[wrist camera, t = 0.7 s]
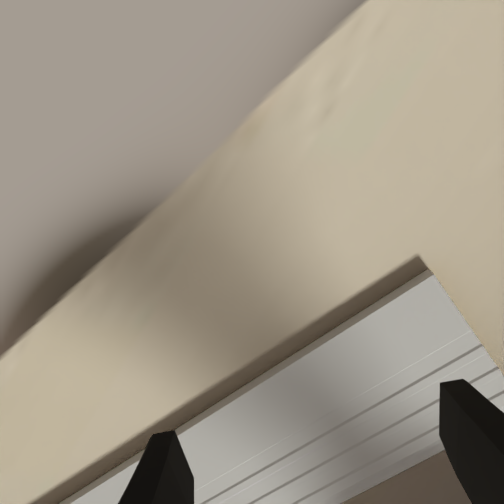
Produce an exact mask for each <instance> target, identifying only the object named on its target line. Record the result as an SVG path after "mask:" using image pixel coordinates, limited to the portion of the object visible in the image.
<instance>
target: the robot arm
mask: <svg viewBox="0 0 504 504" xmlns="http://www.w3.org/2000/svg"><path fill="white" fill-rule="evenodd" d="M439 436H440V439H441V441H442V444H443V446H444V448H445V451H446V453H447V455H448V458H449V460H450V462H451V464H452V467H453V469H454V471H455V473H456V475H457V477H458V479H459V481H460V483H461V484H462V486H463V488H464V490H465V492H466V493H467V495H468V497H469V499H470V501H471V502H472V504H504V413H503V412H502V411H501V410H500V409H499V408H497V407H496V406H495V405H494V404H493V403H492V402H490V401H489V400H488V399H487V398H486V397H485V396H483V395H482V394H481V393H480V392H479V391H478V390H476V389H475V388H474V387H473V386H472V385H471V384H470V383H468V382H467V381H466V380H464V379H458V380H452V381H447V382H441V383H440V401H439ZM118 504H194V477H193V474H192V472H191V469H190V467H189V464H188V462H187V459H186V457H185V454H184V452H183V449H182V447H181V444H180V442H179V439H178V437H177V434H176V432H175V430H174V431H168V432H163V433H157V434H153V435H152V436H151V438H150V440H149V442H148V444H147V446H146V448H145V450H144V453H143V455H142V457H141V459H140V461H139V463H138V465H137V467H136V469H135V471H134V473H133V475H132V477H131V479H130V481H129V483H128V485H127V487H126V489H125V491H124V493H123V495H122V497H121V499H120V501H119V502H118Z"/></svg>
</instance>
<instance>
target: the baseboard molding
mask: <svg viewBox="0 0 504 504" xmlns="http://www.w3.org/2000/svg"><path fill="white" fill-rule="evenodd" d="M458 379H464V380H466V381H467V382H468V383H470V384H471V385H472V386H473V387H474V388H475V389H476V390H478V391H479V392H480V393H481V394H482V395H483V396H485V397H486V398H487V399H488V400H489V401H490V402H492V403H493V404H494V405H495V406H496V407H497V408H499V409H500V410H501V411H502V412H503V413H504V376H503V374H502V372H501V371H500V370H499V368H498V367H497V366H496V364H495V363H494V361H493V360H492V358H491V357H490V355H489V354H488V352H487V351H486V349H485V348H484V346H483V345H482V344H481V342H480V341H479V339H478V338H477V336H476V335H475V334H474V332H473V331H472V329H471V327H470V326H469V325H468V323H467V322H466V320H465V319H464V317H463V316H462V314H461V313H460V312H459V310H458V309H457V307H456V306H455V304H454V303H453V301H452V300H451V298H450V297H449V296H448V294H447V293H446V291H445V290H444V288H443V287H442V285H441V284H440V282H439V281H438V280H437V278H436V277H435V275H434V274H433V273H432V272H431V271H430V270H429V269H427V270H425V271H424V272H422V273H421V274H419V275H417V276H416V277H414V278H413V279H411V280H410V281H408V282H406V283H405V284H403V285H402V286H400V287H399V288H397V289H395V290H394V291H392V292H391V293H389V294H388V295H386V296H384V297H383V298H381V299H380V300H378V301H377V302H375V303H373V304H372V305H370V306H369V307H367V308H366V309H364V310H362V311H361V312H359V313H358V314H356V315H355V316H353V317H351V318H350V319H348V320H347V321H345V322H344V323H342V324H340V325H339V326H337V327H336V328H334V329H332V330H331V331H329V332H328V333H326V334H325V335H323V336H321V337H320V338H318V339H317V340H315V341H314V342H312V343H310V344H309V345H307V346H306V347H304V348H303V349H301V350H299V351H298V352H296V353H295V354H293V355H292V356H290V357H288V358H287V359H285V360H284V361H282V362H281V363H279V364H277V365H276V366H274V367H273V368H271V369H270V370H268V371H266V372H265V373H263V374H262V375H260V376H259V377H257V378H255V379H254V380H252V381H251V382H249V383H247V384H246V385H244V386H243V387H241V388H240V389H238V390H236V391H235V392H233V393H232V394H230V395H229V396H227V397H225V398H224V399H222V400H221V401H219V402H218V403H216V404H214V405H213V406H211V407H210V408H208V409H207V410H205V411H203V412H202V413H200V414H199V415H197V416H196V417H194V418H192V419H191V420H189V421H188V422H186V423H185V424H183V425H181V426H180V427H178V428H177V429H175V432H176V434H177V437H178V439H179V442H180V444H181V447H182V449H183V452H184V454H185V457H186V459H187V462H188V464H189V467H190V469H191V472H192V474H193V477H194V504H341V503H343V502H345V501H347V500H349V499H350V498H352V497H354V496H356V495H358V494H360V493H362V492H364V491H366V490H368V489H370V488H372V487H374V486H376V485H378V484H379V483H381V482H383V481H385V480H387V479H389V478H391V477H393V476H395V475H397V474H399V473H401V472H403V471H405V470H407V469H408V468H410V467H412V466H414V465H416V464H418V463H420V462H422V461H424V460H426V459H428V458H430V457H432V456H434V455H436V454H438V453H439V452H441V451H443V450H445V448H444V446H443V444H442V441H441V439H440V436H439V401H440V383H441V382H447V381H452V380H458ZM144 450H145V449H144ZM144 450H142V451H140V452H139V453H137V454H136V455H134V456H133V457H131V458H129V459H128V460H126V461H125V462H123V463H122V464H120V465H118V466H117V467H115V468H114V469H112V470H111V471H109V472H107V473H106V474H104V475H103V476H101V477H100V478H98V479H96V480H95V481H93V482H92V483H90V484H89V485H87V486H85V487H84V488H82V489H81V490H79V491H78V492H76V493H74V494H73V495H71V496H70V497H68V498H67V499H65V500H63V501H62V502H60V503H59V504H118V502H119V501H120V499H121V497H122V495H123V493H124V491H125V489H126V487H127V485H128V483H129V481H130V479H131V477H132V475H133V473H134V471H135V469H136V467H137V465H138V463H139V461H140V459H141V457H142V455H143V453H144Z"/></svg>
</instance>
